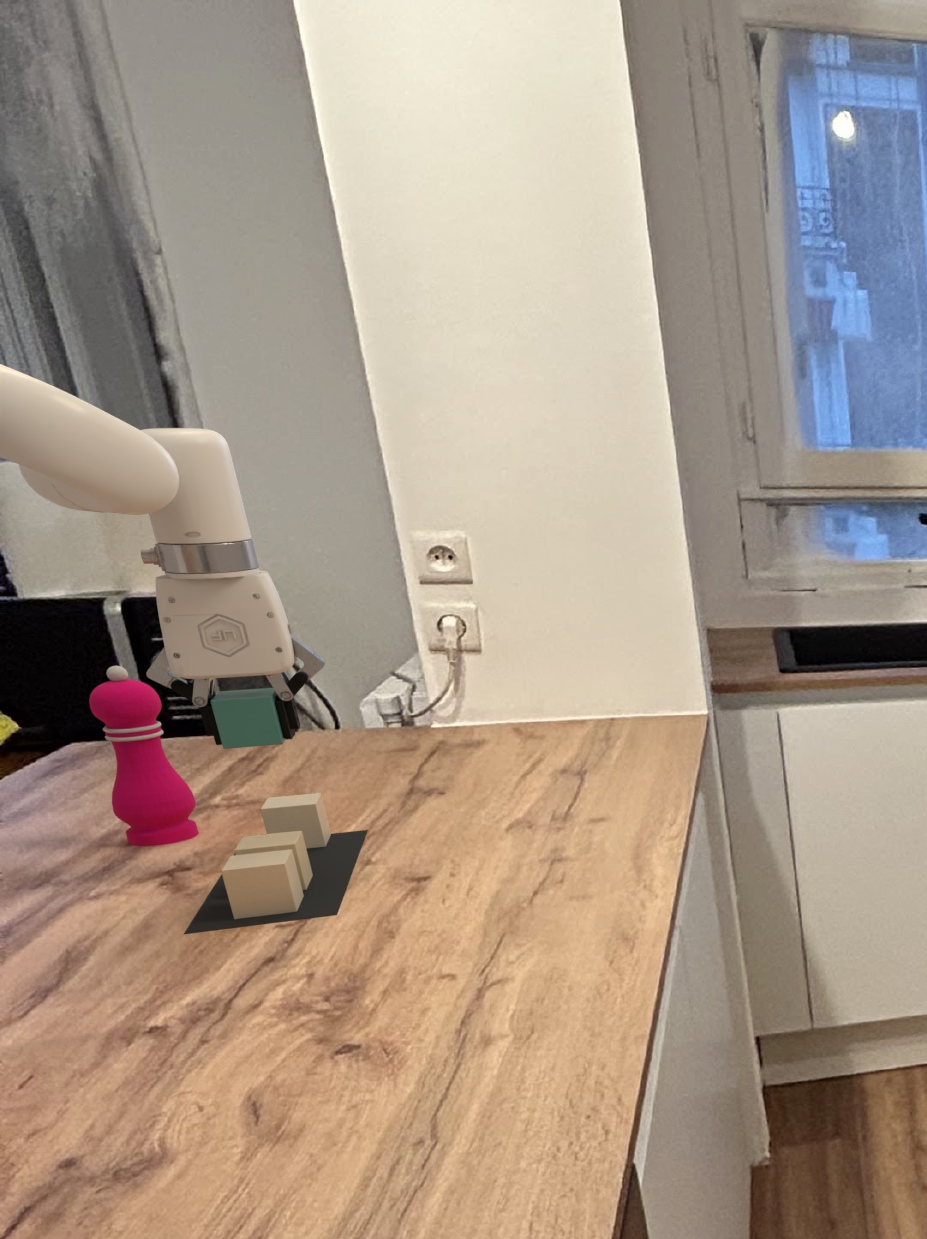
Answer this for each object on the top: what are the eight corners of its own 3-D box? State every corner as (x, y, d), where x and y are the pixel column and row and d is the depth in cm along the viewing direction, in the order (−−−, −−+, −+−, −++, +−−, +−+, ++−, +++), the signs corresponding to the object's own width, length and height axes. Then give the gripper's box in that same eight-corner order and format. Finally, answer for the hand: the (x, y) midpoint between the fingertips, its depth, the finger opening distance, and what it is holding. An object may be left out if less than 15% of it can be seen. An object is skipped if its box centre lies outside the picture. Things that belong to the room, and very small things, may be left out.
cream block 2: (246, 897, 136) (234, 850, 134) (254, 882, 140) (242, 836, 138) (306, 890, 138) (295, 843, 137) (313, 875, 142) (301, 830, 141)
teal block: (223, 749, 137) (210, 700, 136) (231, 738, 141) (219, 691, 140) (283, 744, 139) (270, 696, 138) (289, 733, 144) (278, 687, 142)
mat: (184, 938, 127) (183, 933, 127) (242, 847, 152) (241, 842, 152) (338, 919, 132) (336, 914, 132) (368, 833, 158) (367, 829, 158)
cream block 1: (271, 852, 149) (260, 808, 147) (278, 840, 153) (267, 797, 152) (325, 846, 151) (315, 803, 150) (331, 834, 156) (321, 792, 154)
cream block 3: (234, 919, 130) (220, 870, 128) (243, 903, 134) (230, 855, 133) (297, 911, 132) (284, 863, 131) (304, 896, 137) (292, 849, 135)
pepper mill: (166, 830, 158) (117, 658, 151) (221, 833, 157) (174, 661, 150) (106, 849, 151) (52, 670, 144) (164, 852, 150) (112, 673, 143)
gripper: (90, 567, 127) (145, 756, 133) (308, 560, 135) (350, 739, 141) (110, 559, 133) (162, 739, 140) (318, 553, 141) (358, 724, 147)
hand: (256, 737), depth 140 cm, fingers closed on teal block, 5 cm apart
